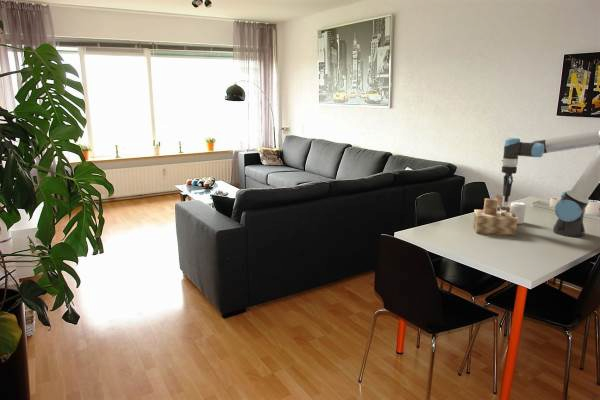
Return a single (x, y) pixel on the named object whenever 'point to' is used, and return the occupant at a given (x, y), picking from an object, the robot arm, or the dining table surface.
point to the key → (500, 202)
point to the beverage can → (518, 211)
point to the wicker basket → (495, 225)
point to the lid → (494, 211)
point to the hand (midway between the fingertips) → (505, 206)
